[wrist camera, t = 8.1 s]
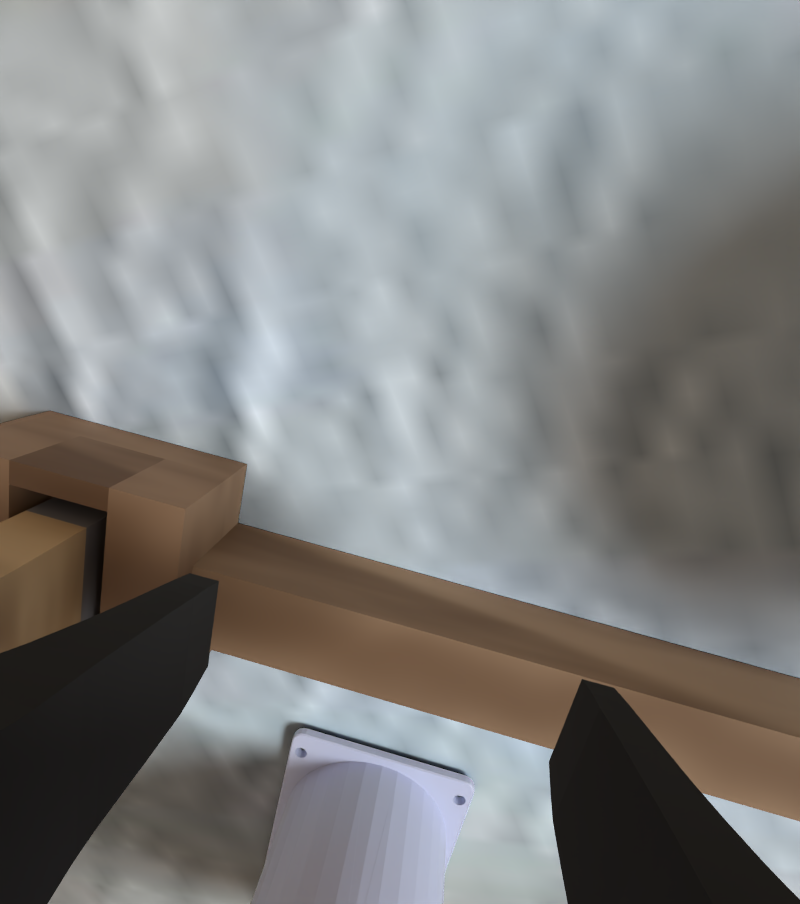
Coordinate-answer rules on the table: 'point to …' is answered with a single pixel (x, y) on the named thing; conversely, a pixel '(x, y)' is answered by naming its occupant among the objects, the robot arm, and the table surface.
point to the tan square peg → (49, 570)
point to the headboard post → (398, 616)
